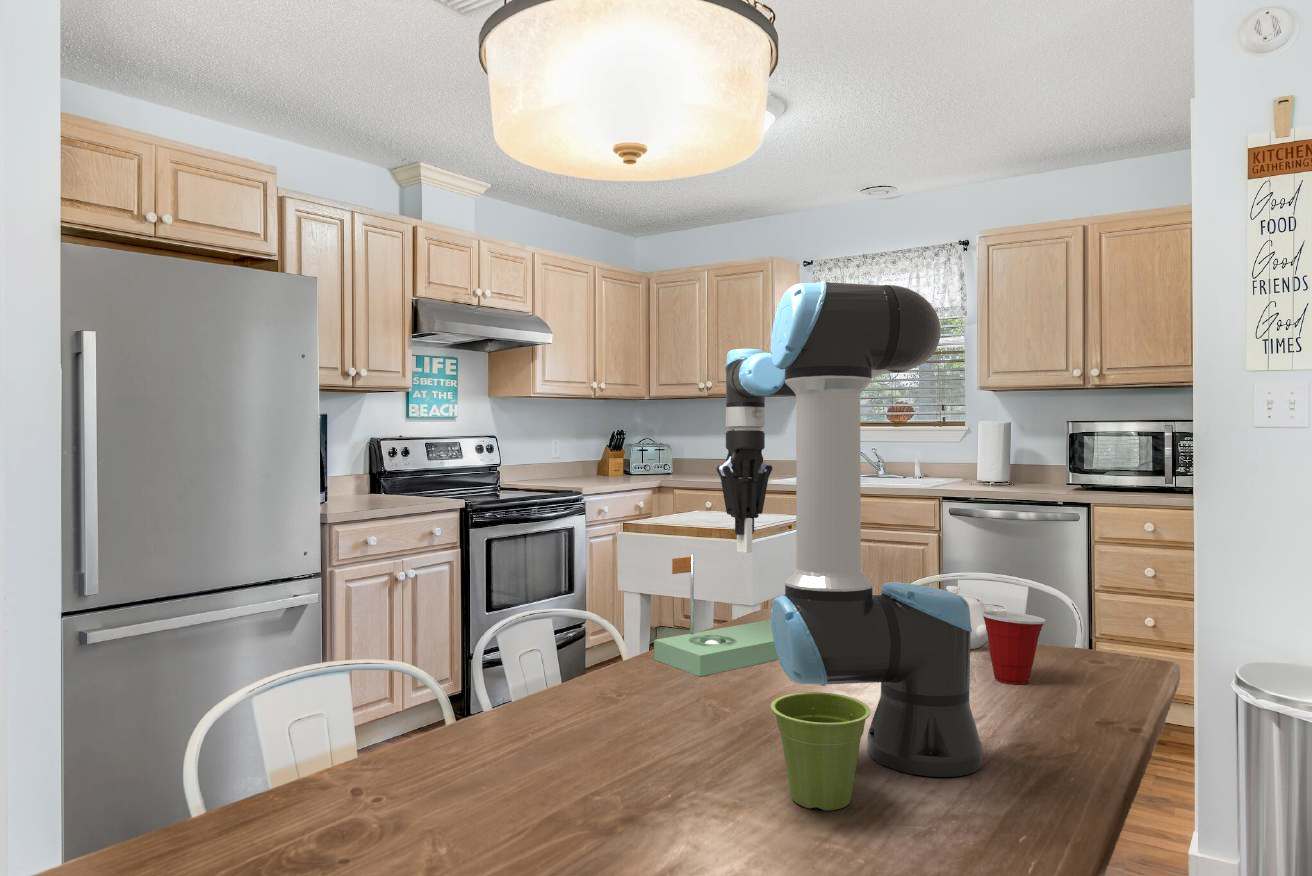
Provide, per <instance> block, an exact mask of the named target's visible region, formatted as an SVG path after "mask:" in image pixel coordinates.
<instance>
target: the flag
mask: <svg viewBox="0 0 1312 876" xmlns="http://www.w3.org/2000/svg"><path fill="white" fill-rule="evenodd" d="M685 573H686V574H687V573H690V576H689V577H690V579H689V580H690V583H689V584H690V585H689V586H690V588H689V589H690V590H689V593H690V594H689V596H690V597H689V600H690V601H689V602H690V604H689V634H691V635H693V633H694V630H695V629H694V628H695V626H694V625H695V622H694V619H695V618H694V617H695V614H694V612H695V611H694V609H695V608H694V607H695V606H694V605H695V599H694V598H695V554H694V553H690V556H687V557H686V556H685V557H676V558H672V559H671V574H672V575H678V574H685Z"/></svg>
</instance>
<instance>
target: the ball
mask: <svg viewBox="0 0 1312 876" xmlns="http://www.w3.org/2000/svg"><path fill="white" fill-rule="evenodd" d="M705 643H706V644H719V643H718V642H717V641H715V640H708V641H706V642H705Z"/></svg>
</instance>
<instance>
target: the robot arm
mask: <svg viewBox="0 0 1312 876" xmlns="http://www.w3.org/2000/svg"><path fill="white" fill-rule="evenodd" d="M771 330H772V331H771V339H770V352H764V351H763V350H761V349H758V348H736V349H731V350H729V351H728V352H727V354H726V364H725V370H724V371H725V403H726V404H725V428H728V430H726V432H725V448H726V450H727V451H728V453H727V456H726V460H725V462H724V463H723V464H722V465H717V466H716V472H717V474H718V476H719V478H720V483H721V489H722V493H723V500H724V505H725V512H726V514H727V515H730V517H731V518H734V533H735V535H736V552H739V553H745V554H746V553H753V535H754V533H755V519H757V518H759V516H760V515H761V514H762V513H763V511H764V507H765V499H766V495H767V488H768V483H769V477H770V476H771V473H772V471H773V466H772V465H770V464H766V463H765V462H764V456H763V453H762V451H763V450H764V449H765V445H766V443H765V442H766V441H765V438H766V437H765V436H766V435H765V432H764V430H762V429H764V428H765V419H766V418H765V417H766V415H765V414H766V413H765V411H766V409H765V407H766V406H765V405H766V404H765V403H766V401H765V400H766V399H765V398H766V397H779V398H780V397H783V398H784V397H787V398H788V397H792V398H793V397H794V398H795V399H796V400H795V404H796V406H795V407H796V408H795V411H796V412H795V415H796V417H795V419H796V426H795V428H796V430H795V431H796V433H795V437H796V438H795V440H796V443H795V445H796V446H795V447H796V448H795V449H796V456H795V457H796V460H795V462H796V463H795V464H796V465H795V466H796V467H795V468H796V469H795V471H796V478H795V479H796V480H795V481H796V482H795V483H796V484H795V485H796V489H795V490H796V496H795V497H796V503H795V505H796V507H795V510H796V518H795V519H796V520H795V521H796V523H795V524H796V526H795V527H796V533H795V534H796V543H795V544H796V547H795V549H796V550H795V551H796V553H795V554H796V563H795V566H796V568H795V570H794V571H793V573H791V575H790V576H789V577H788V578H786V580H785V582H784V588H785V589H784V594H781V595H779V596H777V597H775V598H774V599H773V600H772V602H771V610H770V620H771V627H772V634H773V640H774V645H775V649H776V652H777V656H778V659H779V660H778V661H779V665H780V666H781V668H782V670H783V672H784V674H785V676H787V677H788V679H789V680H790V681H792V682H793V683H795V684H798V685H819V686H822V687H825V686H827V685H845V684H846V685H847V684H850V685H851V684H874V683H875V684H876V683H877V684H879V683H880V697H879V700H878V703H877V707H876V708H875V712H874V714H873V717H872V720H871V722H870V723H871V724H870V727H869V729H868V732H867V743H866V744H867V745H866V746H867V747H866V749H867V753H868V755H869V757H870V758H871V759H873V760H874V761H875V762H877V763H879V764H881V765H883V766H885V767H887V768H888V769H889V768H890V769H892V770H896V771H899V772H902V773H905V774H911V775H917V776H924V777H933V778H953V777H961V776H967V775H970V774H973V773H976V772H977V771H978V770H980V769H981V768H982V766H983V763H984V761H983V758H984V757H983V755H984V754H983V752H984V751H983V750H984V749H983V744H982V743H983V742H982V741H981V739H980V736H979V732H978V731H979V730H978V729H977V725H976V722H975V718H974V716H973V712H972V710H971V705H970V688H971V687H970V686H971V682H970V680H971V649H970V634H971V632H972V628H971V621H970V609H969V605H968V603H967V601H966V600H965V599H964V598H963V597H961V596H959V595H957V594H958V593H956V594H955V593H952V592H949V591H948V590H946V589H945V590H944V589H941V588H936V587H931V586H926V585H923V584H922V585H921V584H914V583H907V582H896V581H895V582H894V581H891V582H885V583H883V584H882V586H881V589H879V590H880V594H876V595H875V594H873V583H872V582H871V580H869V579H868V577H866V576H865V574H863V572H862V566H861V565H862V562H861V561H862V559H861V558H862V556H861V555H862V551H861V548H862V546H861V545H862V543H861V537H862V536H861V535H862V534H861V531H862V530H861V529H862V527H861V524H862V523H861V522H862V521H861V520H862V519H861V512H862V511H861V510H862V508H861V507H862V506H861V495H862V494H861V492H862V491H861V487H862V486H861V395H862V393H863V392H864V390H866V388H867V387H868V386H869V385H870V384H871V383H872V380H873V379H874V378H876V377H879V376H881V375H883V374H886V373H888V372H889V373H903V372H908V371H910V370H912V369H915V368H918V367H919V366H922V365H924V364H925V363H926V362H927V361H928V360H929V359H930V358H932V357H933V355H934V354H935V352H936V350H937V349H938V346H939V344H940V340H941V333H942V330H941V323H940V319H939V316H938V314H937V312H936V310H935V308H934V307H933V306H932V304H931V303H930V302H929V301H928V299H926V298H925V297H924V296H923V295H921V294H920V293H918V292H917V291H914V290H913V289H910V288H907V287H904V286H900V285H894V284H892V285H891V284H883V285H882V284H881V285H880V284H863V283H849V282H847V283H846V282H827V281H820V282H805V283H800V282H799V283H796V284H795V283H794V285H792V286H790V287H789V288H788V289H786V291H785V292H784V293H783V296H782V297H781V299H780V302H779V304H778V307H777V309H776V313H775V316H774V320H773V326H772V329H771Z"/></svg>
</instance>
